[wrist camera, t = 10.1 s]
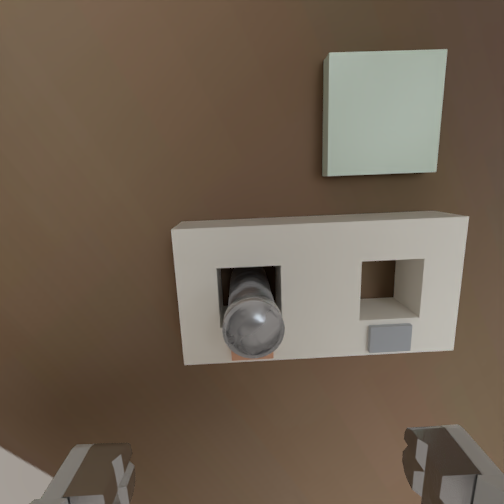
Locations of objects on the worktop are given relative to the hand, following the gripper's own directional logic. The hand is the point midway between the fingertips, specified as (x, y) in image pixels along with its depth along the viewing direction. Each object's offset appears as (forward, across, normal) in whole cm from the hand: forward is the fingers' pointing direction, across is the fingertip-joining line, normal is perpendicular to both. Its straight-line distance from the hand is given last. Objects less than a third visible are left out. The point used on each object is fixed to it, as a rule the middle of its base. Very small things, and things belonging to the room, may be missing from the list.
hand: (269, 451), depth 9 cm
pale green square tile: (+17, -10, -12) cm, 23 cm away
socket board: (+17, -5, 0) cm, 18 cm away
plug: (+17, 0, 0) cm, 17 cm away
